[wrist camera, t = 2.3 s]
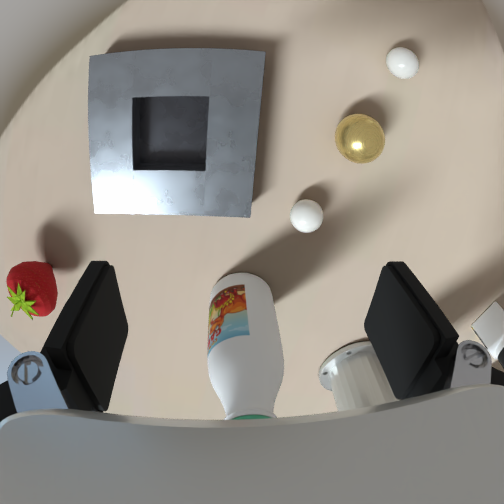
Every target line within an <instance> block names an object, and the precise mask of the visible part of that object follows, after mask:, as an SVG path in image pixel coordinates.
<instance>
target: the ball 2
mask: <svg viewBox="0 0 504 504" xmlns="http://www.w3.org/2000/svg"><path fill="white" fill-rule="evenodd" d="M386 64H387V67H388V69H389V71H390V72H391V73H392V74H393V75H394V76H396V77H398V78H401V79H409V78H412V77H413V76H415V75H416V73H417V72H418V69H419V62H418V59H417V57H416V55H415V54H414V53H413V52H412V51H411V50H409V49H407V48H403V47H397V48H394V49H392V50H391V51H390V52H389V53H388V55H387V58H386Z"/></svg>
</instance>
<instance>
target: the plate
mask: <svg viewBox="0 0 504 504" xmlns="http://www.w3.org/2000/svg"><path fill="white" fill-rule="evenodd" d="M265 53H266V52H263V51H252V50H238V49H217V48H171V49H150V50H137V51H126V52H117V53H108V54H101V55H94V56H90V61H89V86H88V125H89V150H90V166H91V178H92V189H93V199H94V208H95V213H109V214H164V215H197V216H224V217H246V218H250V215H251V204H252V193H253V182H254V171H255V160H256V149H257V138H258V127H259V117H260V106H261V95H262V85H263V74H264V63H265Z"/></svg>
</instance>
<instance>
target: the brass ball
mask: <svg viewBox="0 0 504 504" xmlns="http://www.w3.org/2000/svg"><path fill="white" fill-rule="evenodd" d="M335 142H336V146H337V148H338V150H339V152H340V153H341V154H342V155H343V156H344V157H345V158H346V159H348V160H350V161H352V162H354V163H361V164H362V163H369V162H371V161H373V160H375V159H376V158H377V157H378V156H379V155H380V154H381V153H382V151H383V148H384V145H385V135H384V132H383V129H382V127H381V126H380V124H379V123H378V122H377V121H376V120H375V119H374V118H372V117H370V116H368V115H365V114H352V115H349V116H347V117H345V118H344V119H343V120H342V121H341V122H340V123H339V125H338V126H337V129H336V132H335Z"/></svg>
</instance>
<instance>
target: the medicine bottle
mask: <svg viewBox="0 0 504 504" xmlns="http://www.w3.org/2000/svg"><path fill="white" fill-rule="evenodd" d="M471 328H472V329H473V330H474V332H475V333H476V334H477V336H478V337H479V339H480V340H481V341H482V343H483V344H484V346H485V347H486V348H487V350H488V351H489V352H490V354H491V355H492V356H493V358H494V359H498V360H499V362H500V363H501V365H502V366H503V368H504V310H503V309H502V308H501V306H500V305H499V304H498V303H497V302H496V301H494V302H493V304H492V305H491V306H490V307H489V308H488V309H487V310H486V311H485V312H484V313H483V314H482V315H481V316H480V317H479V318H478V319H477V320H476V321H475V322H474V323H473V324H472V325H471Z"/></svg>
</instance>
